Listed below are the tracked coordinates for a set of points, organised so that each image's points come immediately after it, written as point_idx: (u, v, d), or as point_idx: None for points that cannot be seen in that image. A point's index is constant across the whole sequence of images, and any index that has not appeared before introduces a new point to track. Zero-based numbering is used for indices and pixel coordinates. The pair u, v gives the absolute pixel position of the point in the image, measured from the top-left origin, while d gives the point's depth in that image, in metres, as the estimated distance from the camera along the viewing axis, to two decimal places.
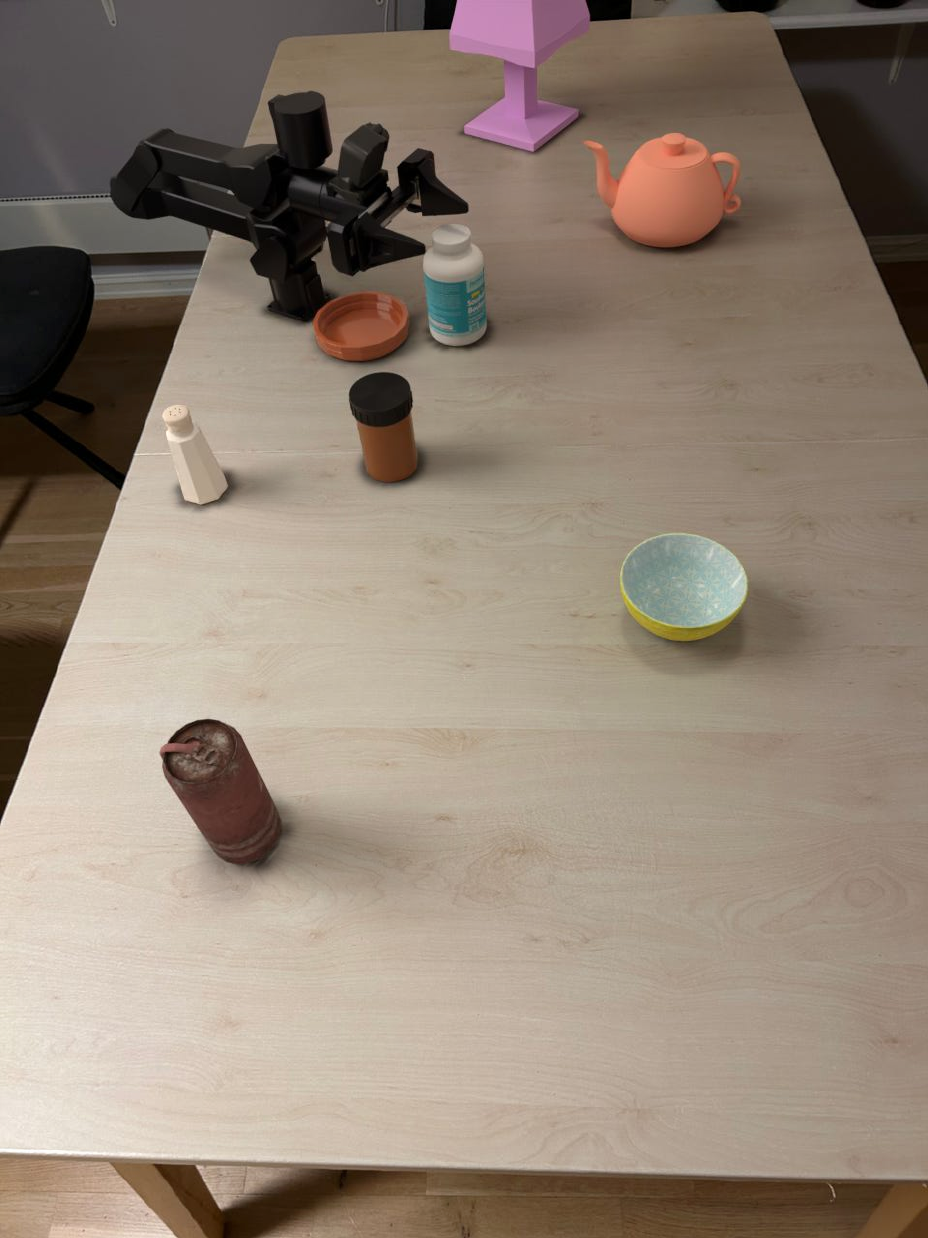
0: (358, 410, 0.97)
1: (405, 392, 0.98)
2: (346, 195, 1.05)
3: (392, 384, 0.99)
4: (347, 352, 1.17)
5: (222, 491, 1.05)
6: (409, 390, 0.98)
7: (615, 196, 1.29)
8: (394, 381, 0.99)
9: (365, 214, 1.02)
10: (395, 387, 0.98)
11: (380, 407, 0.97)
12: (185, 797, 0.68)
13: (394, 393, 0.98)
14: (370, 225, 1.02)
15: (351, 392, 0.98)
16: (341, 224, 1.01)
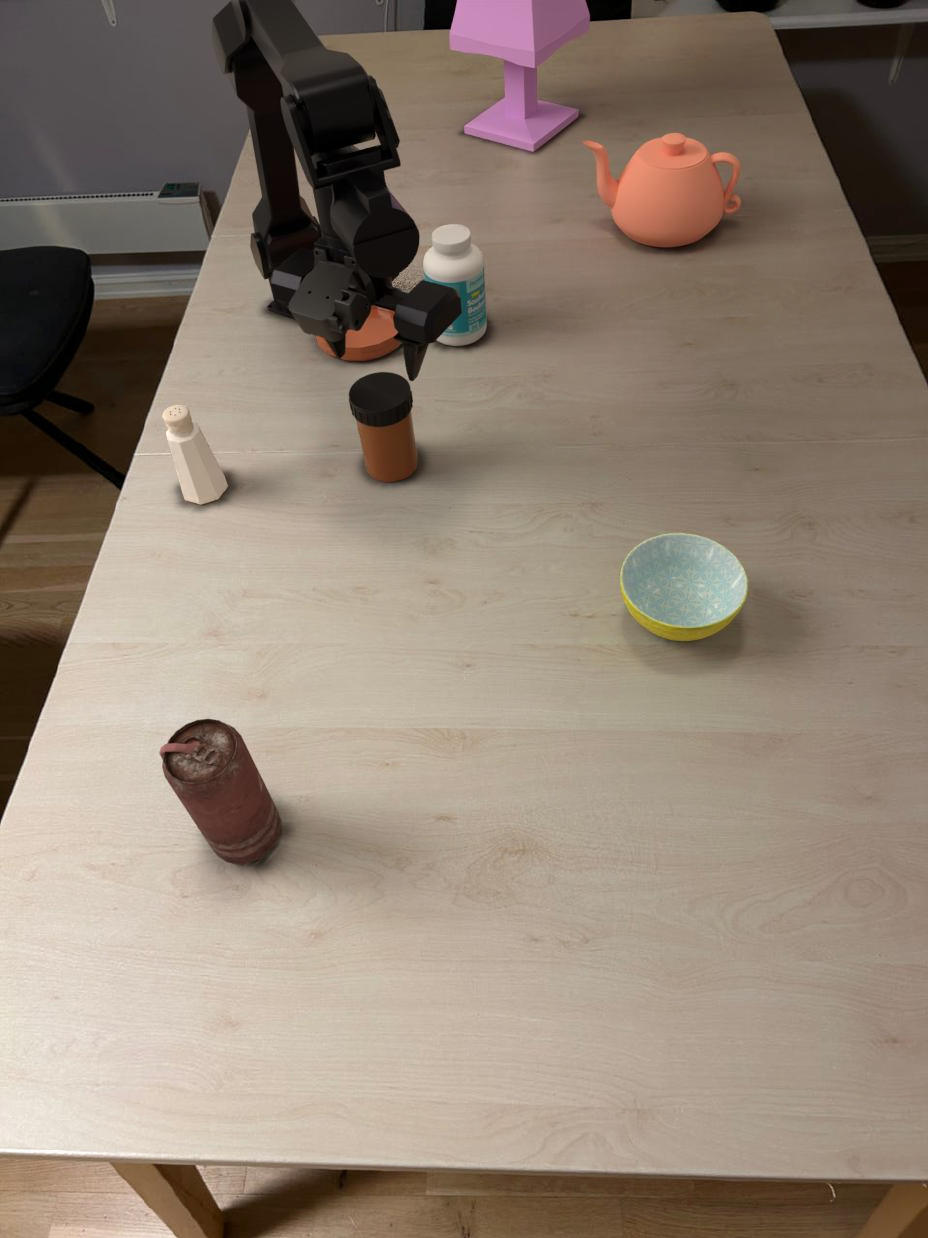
0: (358, 410, 0.97)
1: (405, 392, 0.98)
2: None
3: (392, 384, 0.99)
4: (347, 352, 1.17)
5: (222, 491, 1.05)
6: (409, 390, 0.98)
7: (615, 196, 1.29)
8: (394, 381, 0.99)
9: None
10: (395, 387, 0.98)
11: (380, 407, 0.97)
12: (185, 797, 0.68)
13: (394, 393, 0.98)
14: None
15: (351, 392, 0.98)
16: (275, 294, 0.91)
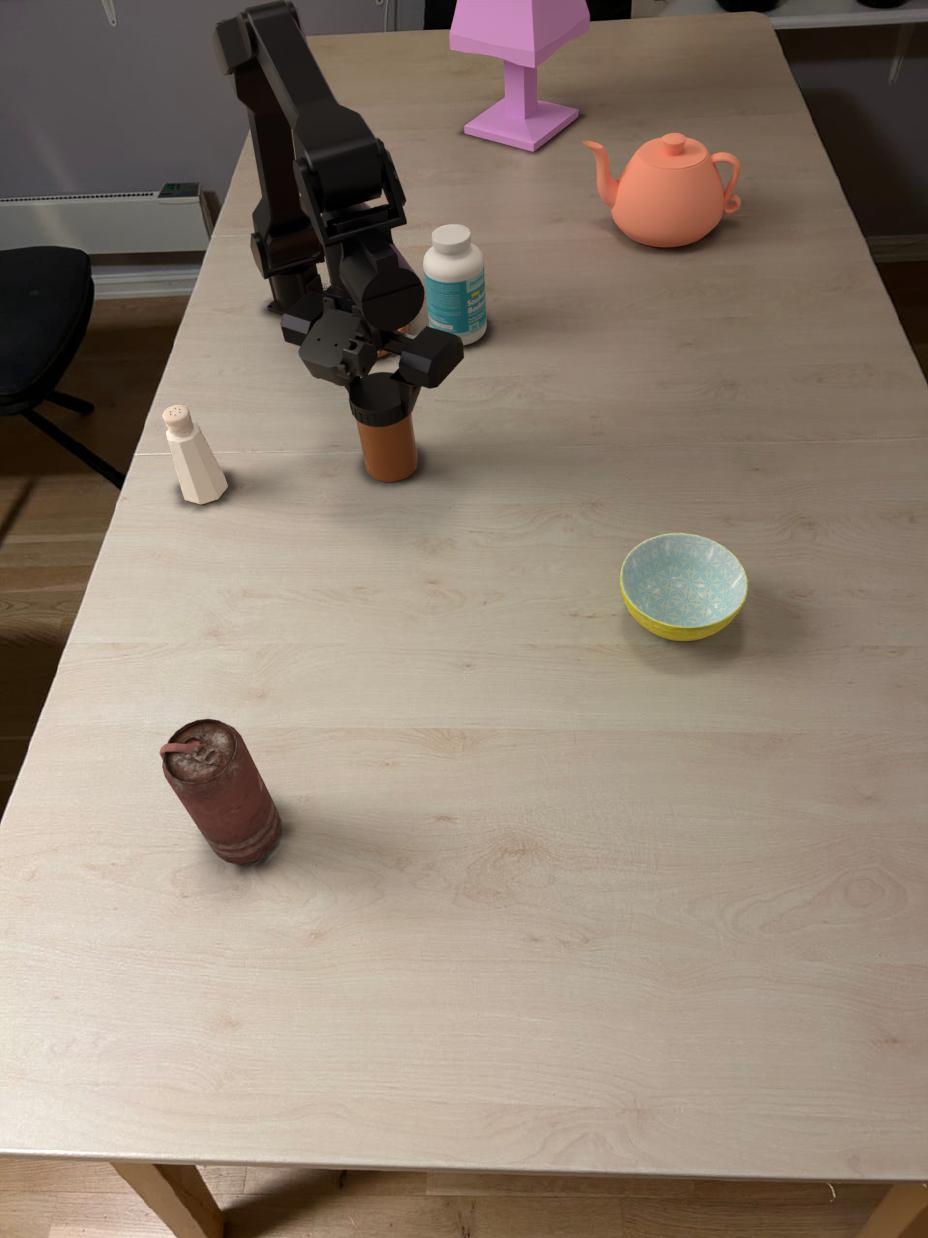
0: (358, 410, 0.97)
1: None
2: None
3: (392, 384, 0.99)
4: None
5: (222, 491, 1.05)
6: None
7: (615, 196, 1.29)
8: (394, 381, 0.99)
9: None
10: (395, 387, 0.98)
11: (380, 407, 0.97)
12: (185, 797, 0.68)
13: (394, 393, 0.98)
14: None
15: (351, 392, 0.98)
16: (285, 337, 0.95)
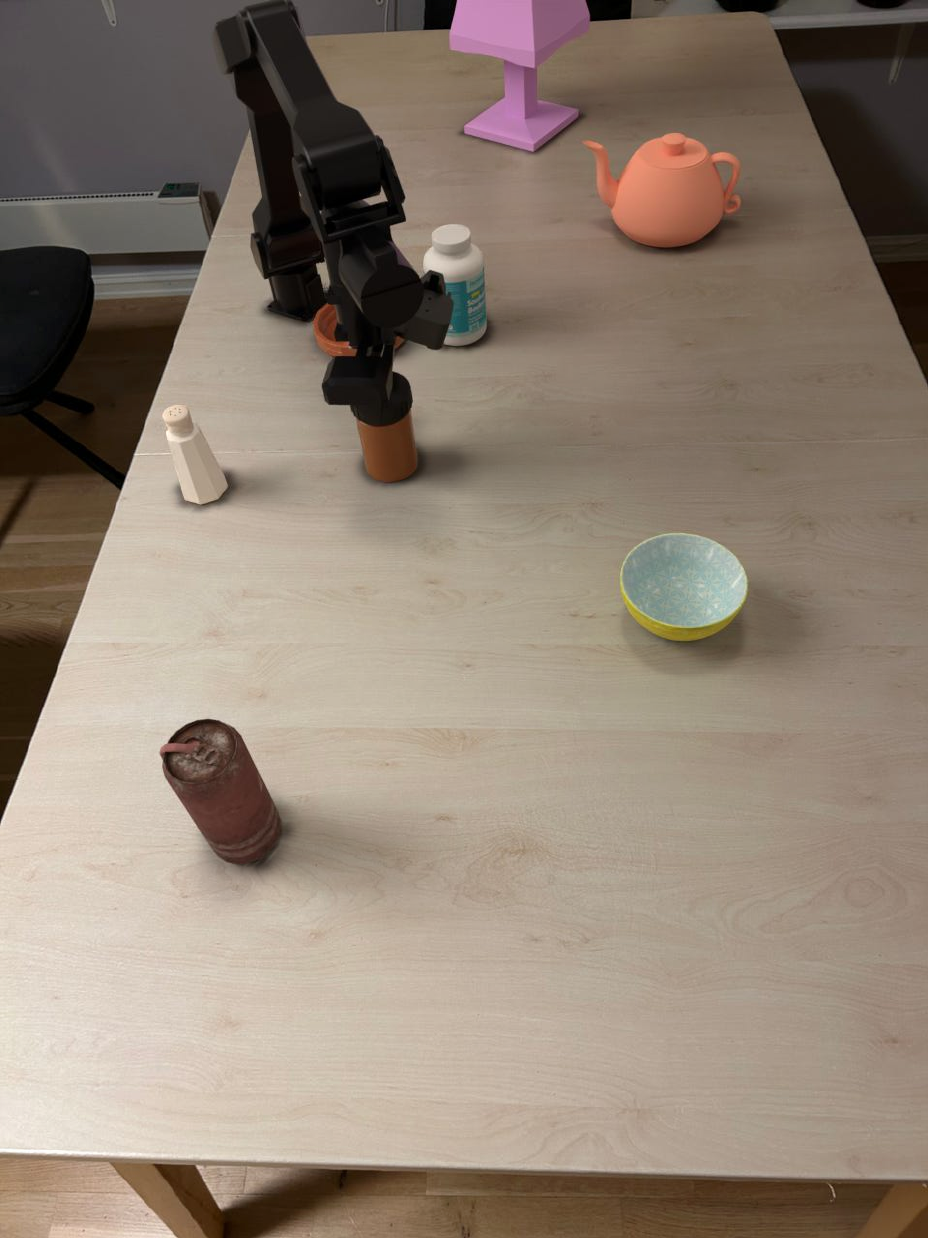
0: (408, 396, 0.98)
1: None
2: (387, 328, 0.89)
3: None
4: (347, 352, 1.17)
5: (222, 491, 1.05)
6: None
7: (615, 196, 1.29)
8: None
9: (394, 377, 0.91)
10: None
11: (401, 380, 0.99)
12: (185, 797, 0.68)
13: None
14: None
15: (389, 405, 0.96)
16: (387, 396, 0.88)
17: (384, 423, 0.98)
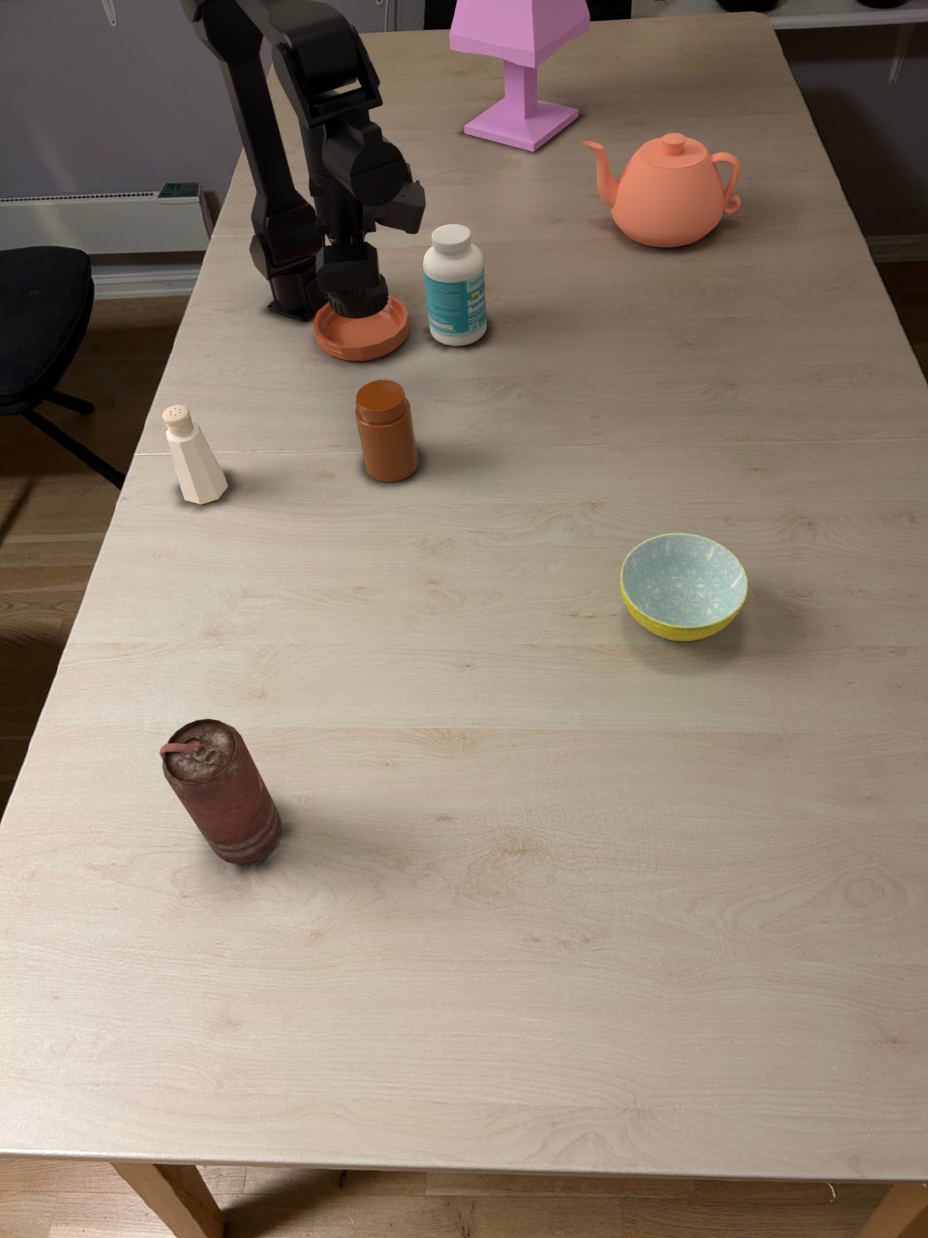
0: (386, 287, 1.03)
1: None
2: (368, 215, 0.94)
3: None
4: (347, 352, 1.17)
5: (222, 491, 1.05)
6: None
7: (615, 196, 1.29)
8: None
9: None
10: None
11: None
12: (185, 797, 0.68)
13: None
14: None
15: (370, 297, 1.02)
16: (379, 277, 0.93)
17: (366, 315, 1.03)
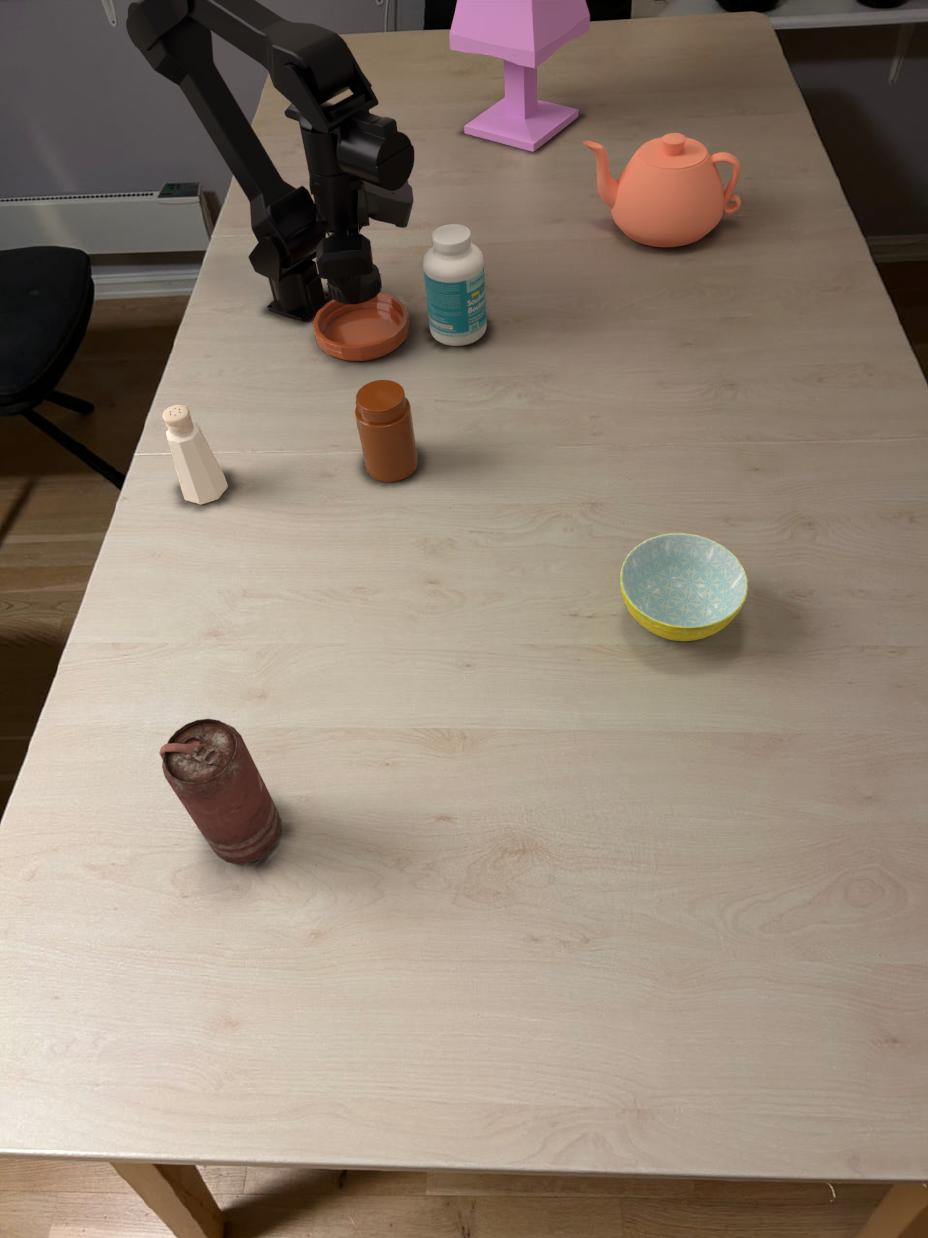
0: (379, 276, 1.15)
1: None
2: (362, 211, 1.06)
3: None
4: (347, 352, 1.17)
5: (222, 491, 1.05)
6: None
7: (615, 196, 1.29)
8: None
9: None
10: None
11: None
12: (185, 797, 0.68)
13: None
14: None
15: (365, 284, 1.14)
16: (372, 265, 1.05)
17: (362, 301, 1.15)
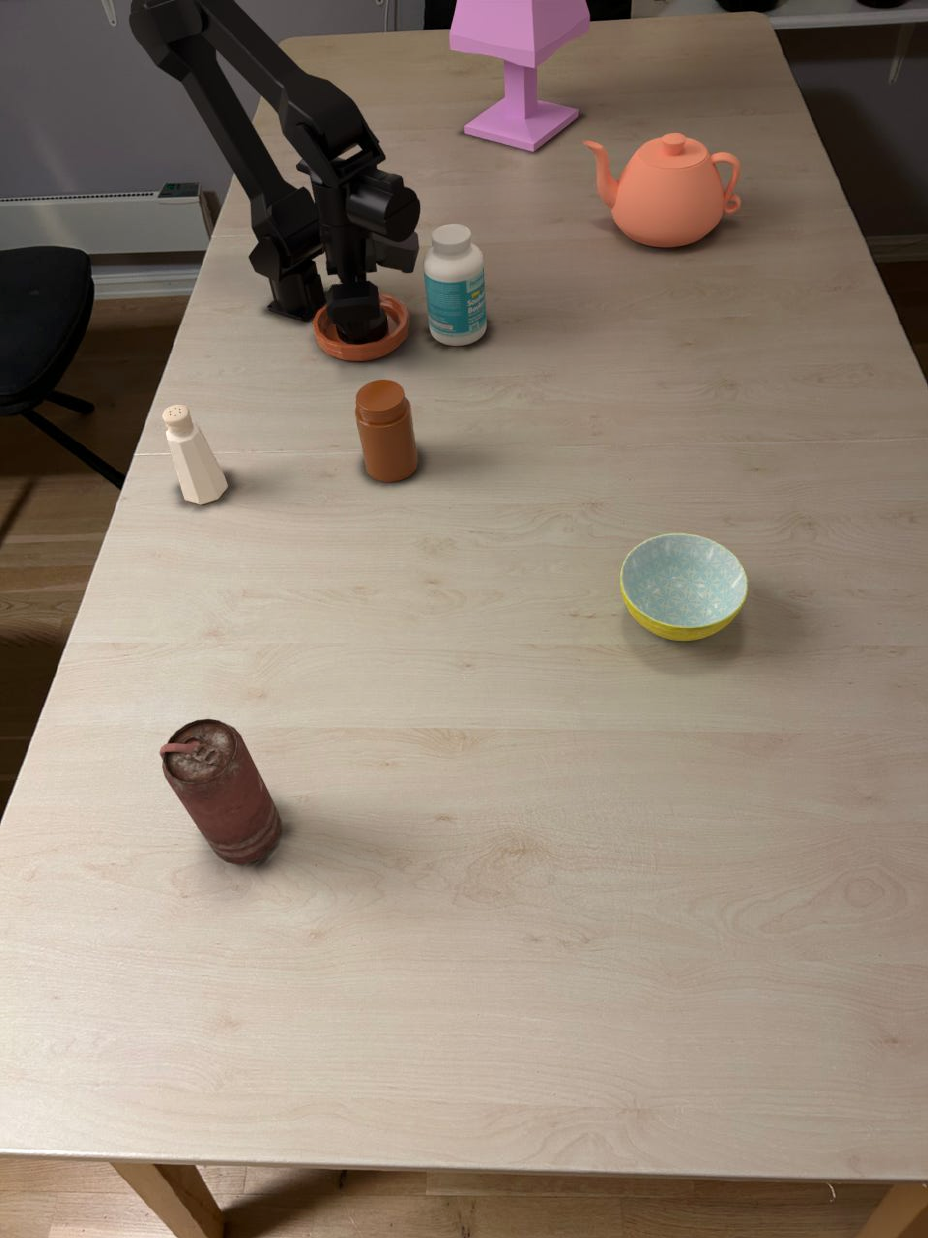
0: (385, 319, 1.20)
1: None
2: (370, 258, 1.11)
3: None
4: (347, 352, 1.17)
5: (222, 491, 1.05)
6: None
7: (615, 196, 1.29)
8: None
9: None
10: None
11: None
12: (185, 797, 0.68)
13: None
14: None
15: (372, 327, 1.18)
16: (379, 311, 1.10)
17: None
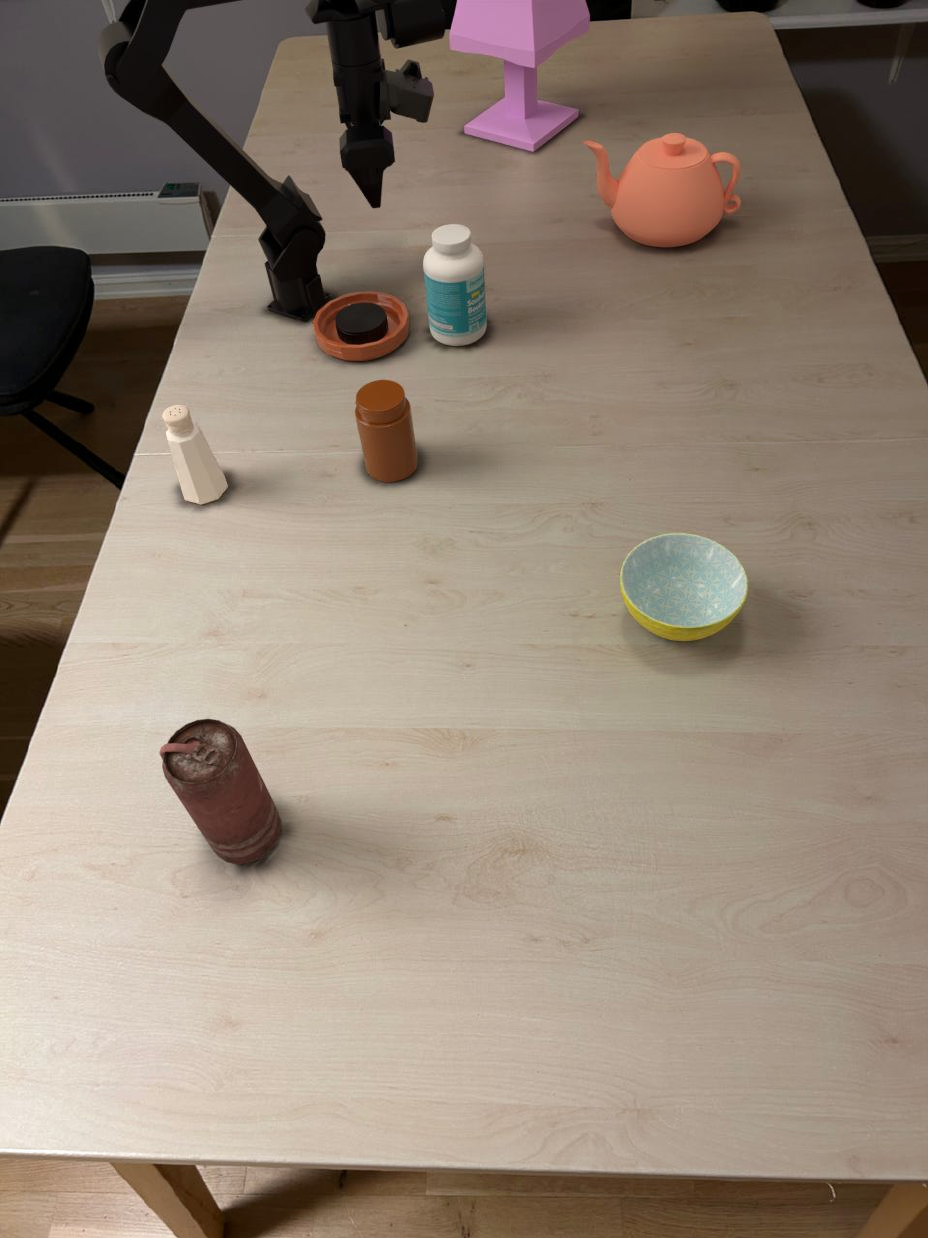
0: (385, 319, 1.20)
1: (352, 306, 1.22)
2: (384, 103, 1.09)
3: (348, 315, 1.20)
4: (347, 352, 1.17)
5: (222, 491, 1.05)
6: None
7: (615, 196, 1.29)
8: (344, 316, 1.20)
9: None
10: (350, 312, 1.21)
11: (377, 307, 1.21)
12: (185, 797, 0.68)
13: (357, 309, 1.21)
14: None
15: (372, 327, 1.18)
16: (394, 156, 1.08)
17: None
